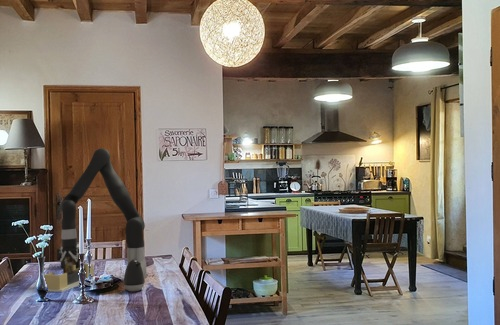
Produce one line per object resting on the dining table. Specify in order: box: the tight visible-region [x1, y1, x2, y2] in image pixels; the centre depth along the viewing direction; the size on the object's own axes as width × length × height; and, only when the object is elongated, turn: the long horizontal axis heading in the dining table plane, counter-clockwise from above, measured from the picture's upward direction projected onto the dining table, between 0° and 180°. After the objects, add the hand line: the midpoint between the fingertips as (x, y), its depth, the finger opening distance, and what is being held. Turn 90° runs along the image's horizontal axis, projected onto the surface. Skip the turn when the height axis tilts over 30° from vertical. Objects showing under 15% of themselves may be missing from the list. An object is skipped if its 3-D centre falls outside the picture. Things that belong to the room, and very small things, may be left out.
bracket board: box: [43, 263, 94, 293], centre depth 255 cm, size 12×30×8 cm, turn 165°
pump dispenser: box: [123, 260, 146, 293], centre depth 238 cm, size 10×10×15 cm
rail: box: [67, 269, 85, 285], centre depth 255 cm, size 5×22×5 cm, turn 165°
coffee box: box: [62, 247, 79, 274], centre depth 275 cm, size 9×6×16 cm
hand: (70, 268), depth 255 cm, fingers open, 8 cm apart
